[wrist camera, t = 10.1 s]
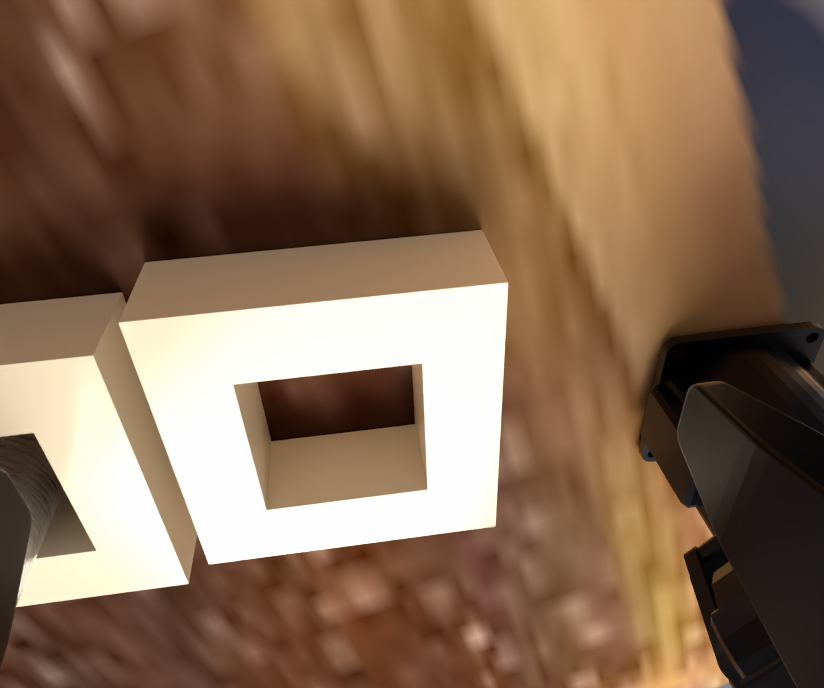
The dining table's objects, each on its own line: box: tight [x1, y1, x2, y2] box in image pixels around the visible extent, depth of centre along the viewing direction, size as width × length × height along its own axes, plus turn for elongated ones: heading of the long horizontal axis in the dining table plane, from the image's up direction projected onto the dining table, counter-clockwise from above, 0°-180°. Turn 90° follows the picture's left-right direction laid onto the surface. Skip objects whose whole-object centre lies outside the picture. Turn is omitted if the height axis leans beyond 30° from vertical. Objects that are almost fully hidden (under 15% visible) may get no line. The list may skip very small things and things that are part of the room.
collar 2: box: [118, 230, 508, 564], centre depth 23 cm, size 11×11×4 cm
